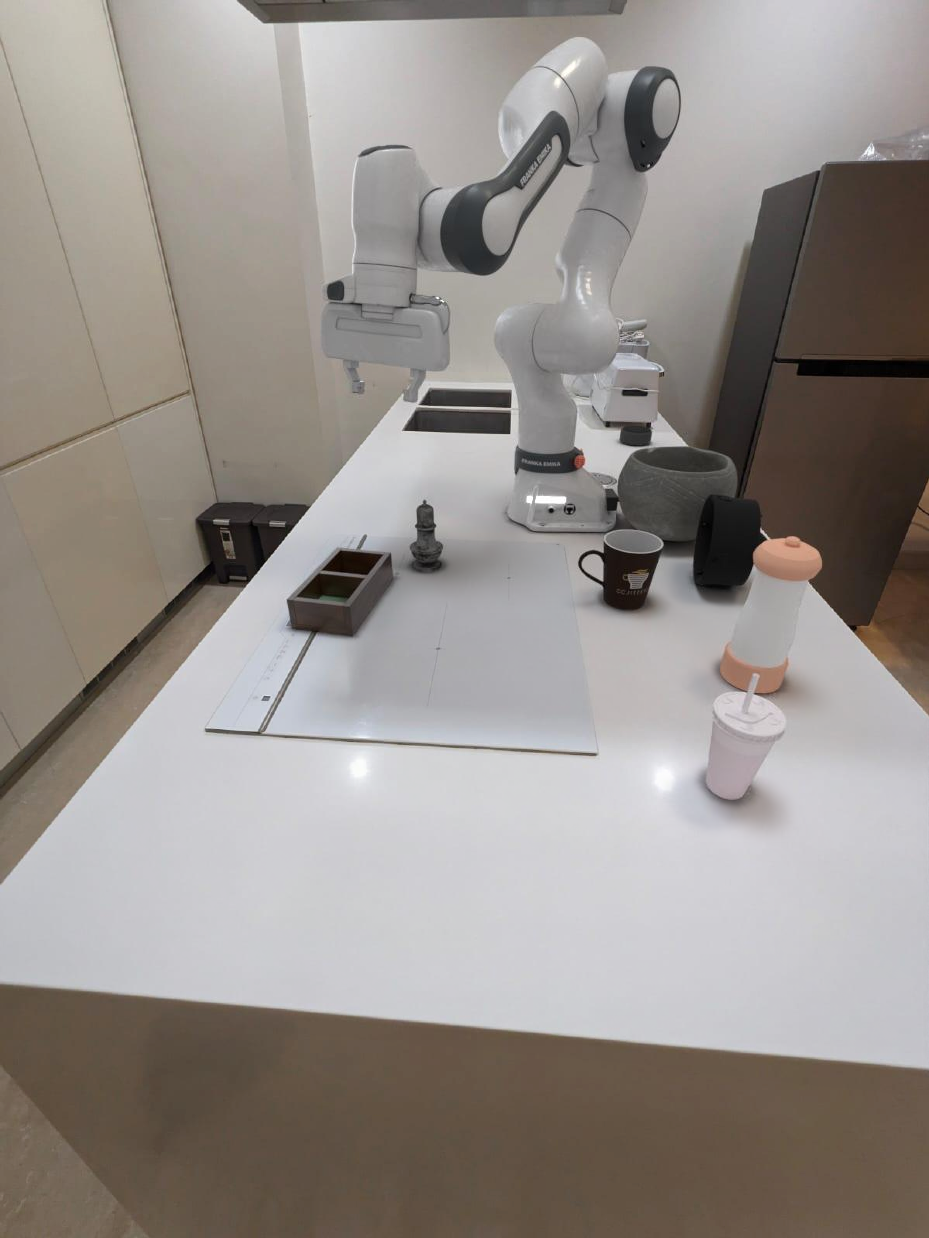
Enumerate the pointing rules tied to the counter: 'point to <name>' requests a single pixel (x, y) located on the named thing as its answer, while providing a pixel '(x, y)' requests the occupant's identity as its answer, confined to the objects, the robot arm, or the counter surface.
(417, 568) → the salt shaker
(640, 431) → the smart speaker
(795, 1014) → the counter surface
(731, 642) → the pepper shaker
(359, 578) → the divided wooden box
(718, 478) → the bowl
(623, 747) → the counter surface
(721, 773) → the smoothie
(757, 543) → the black cylinder
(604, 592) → the coffee mug
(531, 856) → the counter surface
